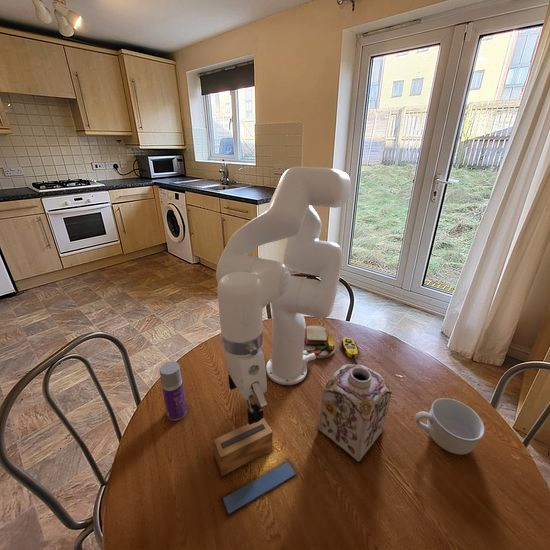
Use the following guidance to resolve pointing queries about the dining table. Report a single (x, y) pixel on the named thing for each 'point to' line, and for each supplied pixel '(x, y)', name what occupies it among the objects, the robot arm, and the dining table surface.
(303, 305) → the robot arm
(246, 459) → the token holder
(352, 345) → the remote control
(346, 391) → the decorative jar
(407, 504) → the dining table surface
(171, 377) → the container
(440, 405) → the teacup
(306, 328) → the toy sandwich meal
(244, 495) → the strip
